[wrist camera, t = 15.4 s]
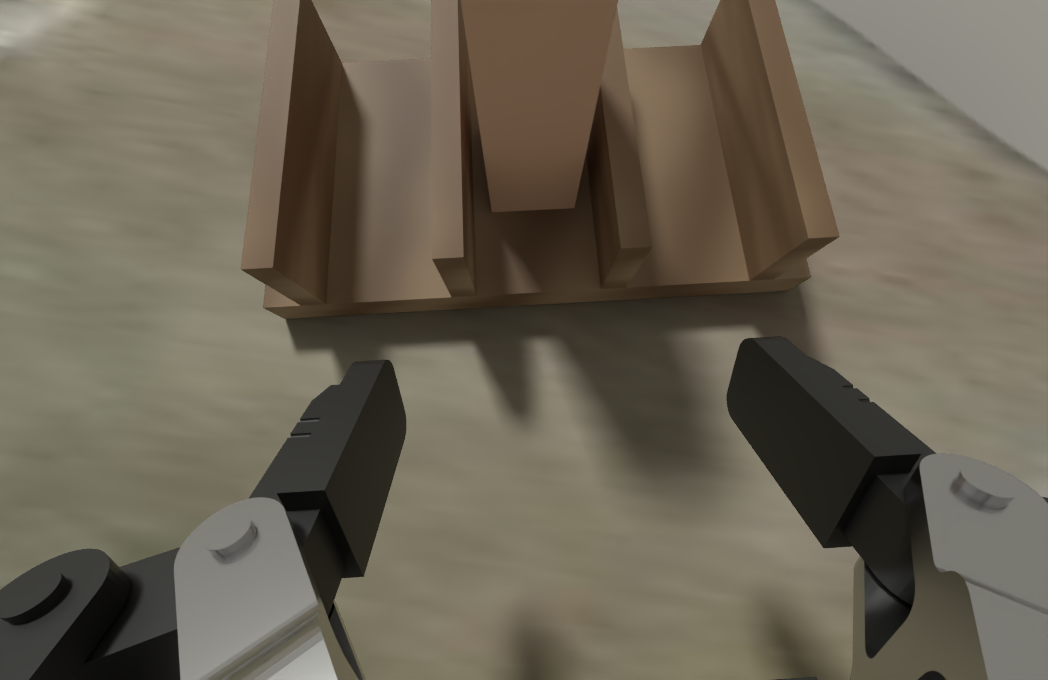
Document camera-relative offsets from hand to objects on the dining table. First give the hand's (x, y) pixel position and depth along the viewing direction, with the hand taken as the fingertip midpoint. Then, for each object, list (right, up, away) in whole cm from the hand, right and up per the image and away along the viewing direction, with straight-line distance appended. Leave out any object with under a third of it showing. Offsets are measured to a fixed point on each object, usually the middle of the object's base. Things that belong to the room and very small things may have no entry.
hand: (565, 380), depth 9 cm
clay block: (-1, +9, +8) cm, 12 cm away
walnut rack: (-1, +8, +10) cm, 13 cm away
